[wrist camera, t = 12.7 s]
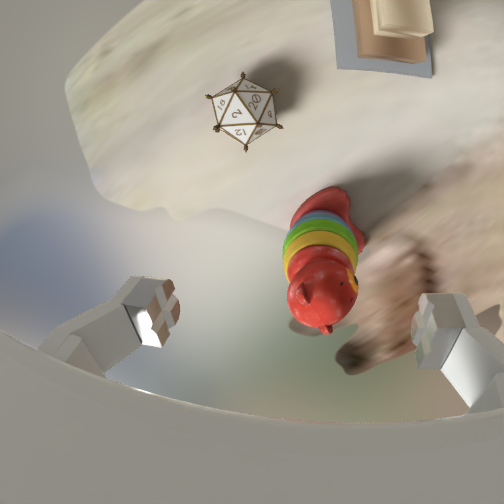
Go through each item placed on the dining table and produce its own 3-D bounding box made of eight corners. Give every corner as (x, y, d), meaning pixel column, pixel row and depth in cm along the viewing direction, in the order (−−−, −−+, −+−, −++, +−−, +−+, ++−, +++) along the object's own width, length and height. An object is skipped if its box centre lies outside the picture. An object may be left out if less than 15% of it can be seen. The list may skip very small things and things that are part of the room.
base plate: (420, -4, 21) (422, -6, 20) (428, 78, 27) (432, 78, 26) (328, -15, 23) (328, -18, 22) (337, 69, 30) (337, 68, 29)
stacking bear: (368, 247, 41) (384, 338, 27) (306, 268, 45) (293, 359, 31) (342, 181, 37) (354, 252, 22) (275, 208, 41) (245, 287, 27)
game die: (251, 94, 37) (230, 48, 27) (301, 122, 35) (292, 74, 25) (209, 141, 38) (176, 102, 28) (257, 173, 36) (234, 136, 26)
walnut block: (406, 0, 21) (417, -11, 17) (413, 63, 26) (426, 61, 21) (350, -7, 23) (354, -20, 18) (357, 57, 27) (363, 53, 23)
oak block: (410, 4, 18) (427, -11, 13) (414, 40, 21) (433, 32, 16) (369, -2, 19) (379, -19, 14) (374, 34, 22) (385, 23, 17)
